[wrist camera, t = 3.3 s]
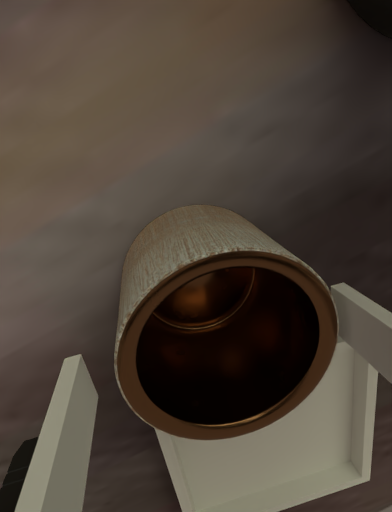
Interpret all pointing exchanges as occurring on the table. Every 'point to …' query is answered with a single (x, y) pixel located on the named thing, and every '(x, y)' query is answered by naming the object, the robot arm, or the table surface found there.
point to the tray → (285, 449)
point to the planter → (218, 326)
